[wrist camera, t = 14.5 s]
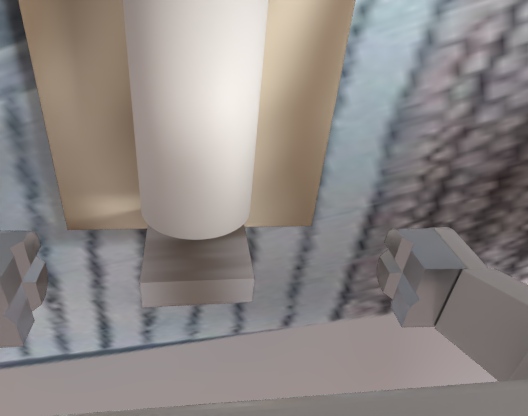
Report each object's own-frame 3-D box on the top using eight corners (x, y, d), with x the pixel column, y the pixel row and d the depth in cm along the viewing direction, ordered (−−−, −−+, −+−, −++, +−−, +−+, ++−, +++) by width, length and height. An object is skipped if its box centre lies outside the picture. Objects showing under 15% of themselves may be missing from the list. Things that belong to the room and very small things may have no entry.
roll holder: (365, -98, 17) (459, -119, 11) (307, 216, 25) (342, 297, 20) (-4, -150, 14) (-135, -214, 8) (71, 219, 23) (32, 313, 17)
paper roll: (178, -46, 17) (82, -53, 13) (293, -32, 15) (226, -34, 11) (182, 176, 22) (117, 221, 18) (266, 203, 21) (215, 259, 17)
